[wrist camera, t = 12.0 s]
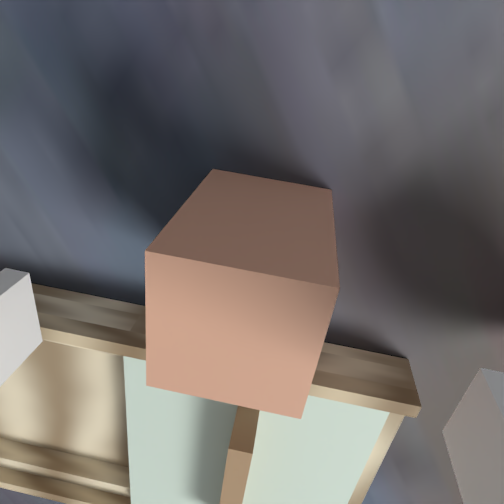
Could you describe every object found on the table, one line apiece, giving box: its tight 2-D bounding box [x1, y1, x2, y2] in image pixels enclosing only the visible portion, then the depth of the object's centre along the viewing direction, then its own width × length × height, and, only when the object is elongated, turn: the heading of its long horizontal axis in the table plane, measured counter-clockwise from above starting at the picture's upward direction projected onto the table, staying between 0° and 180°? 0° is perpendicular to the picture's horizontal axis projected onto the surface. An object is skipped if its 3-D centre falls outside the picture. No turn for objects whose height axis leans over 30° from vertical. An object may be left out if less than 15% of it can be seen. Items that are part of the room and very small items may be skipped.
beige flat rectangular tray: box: [0, 283, 421, 504], centre depth 25 cm, size 30×17×3 cm, turn 83°
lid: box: [123, 356, 390, 504], centre depth 23 cm, size 14×15×3 cm
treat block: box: [145, 169, 340, 419], centre depth 16 cm, size 6×6×8 cm
